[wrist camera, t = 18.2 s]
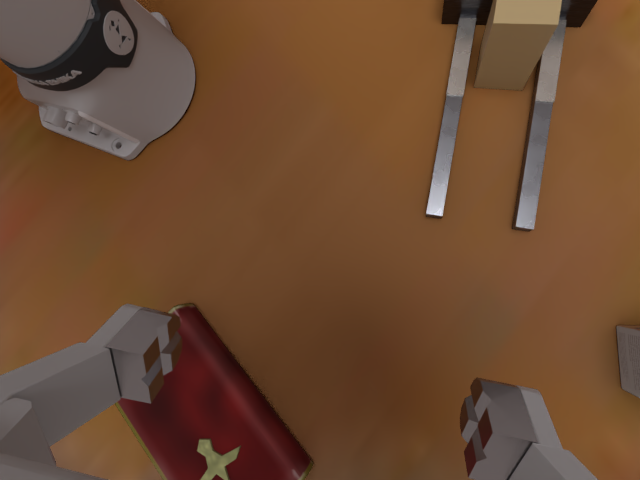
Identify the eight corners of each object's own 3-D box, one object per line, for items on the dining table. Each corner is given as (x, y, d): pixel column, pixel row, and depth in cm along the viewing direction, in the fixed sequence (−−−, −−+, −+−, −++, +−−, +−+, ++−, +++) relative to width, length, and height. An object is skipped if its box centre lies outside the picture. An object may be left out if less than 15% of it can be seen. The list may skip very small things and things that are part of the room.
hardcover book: (196, 302, 44) (174, 304, 40) (315, 460, 39) (304, 480, 35) (125, 371, 45) (97, 379, 41) (232, 533, 40) (212, 561, 36)
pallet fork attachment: (408, 213, 39) (407, 201, 34) (446, -4, 41) (451, -51, 35) (549, 234, 36) (575, 224, 30) (584, -2, 38) (615, -55, 32)
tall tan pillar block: (473, 87, 39) (493, 23, 30) (480, 45, 40) (501, -32, 30) (521, 90, 38) (558, 24, 29) (528, 47, 39) (566, -33, 29)
